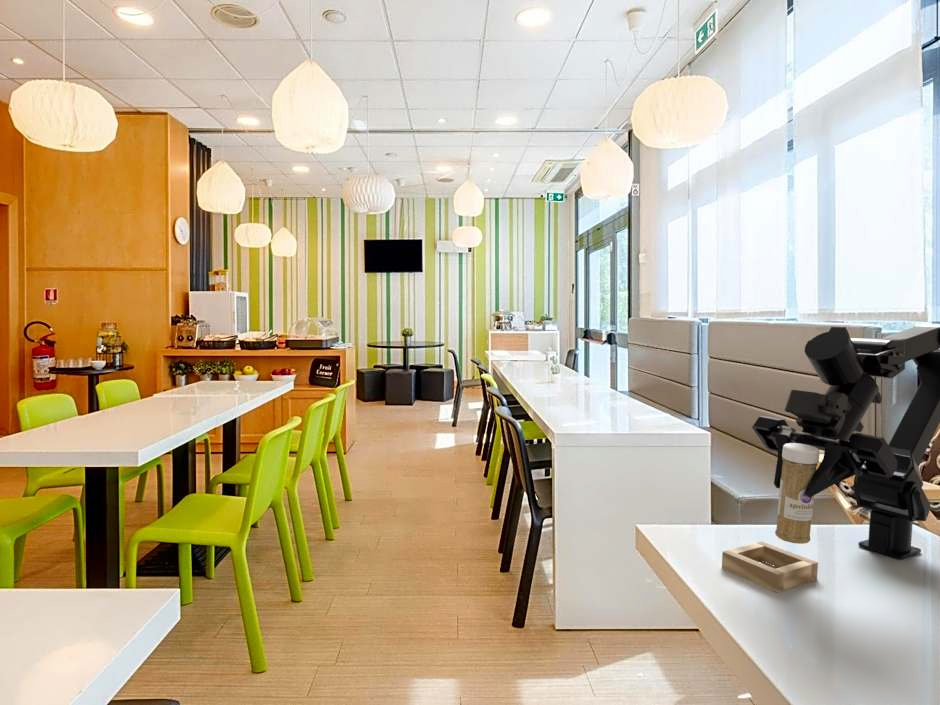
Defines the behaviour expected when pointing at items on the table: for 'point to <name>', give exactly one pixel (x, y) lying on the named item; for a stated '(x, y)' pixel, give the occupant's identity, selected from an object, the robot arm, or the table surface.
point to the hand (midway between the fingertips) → (791, 490)
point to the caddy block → (784, 577)
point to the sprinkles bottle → (796, 492)
